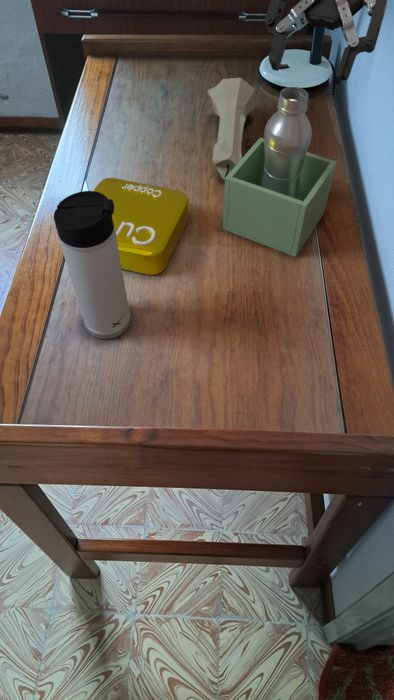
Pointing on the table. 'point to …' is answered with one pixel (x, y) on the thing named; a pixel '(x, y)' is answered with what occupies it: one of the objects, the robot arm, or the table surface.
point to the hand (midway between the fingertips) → (305, 75)
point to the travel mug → (94, 262)
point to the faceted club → (230, 121)
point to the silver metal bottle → (287, 143)
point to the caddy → (275, 202)
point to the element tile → (145, 222)
